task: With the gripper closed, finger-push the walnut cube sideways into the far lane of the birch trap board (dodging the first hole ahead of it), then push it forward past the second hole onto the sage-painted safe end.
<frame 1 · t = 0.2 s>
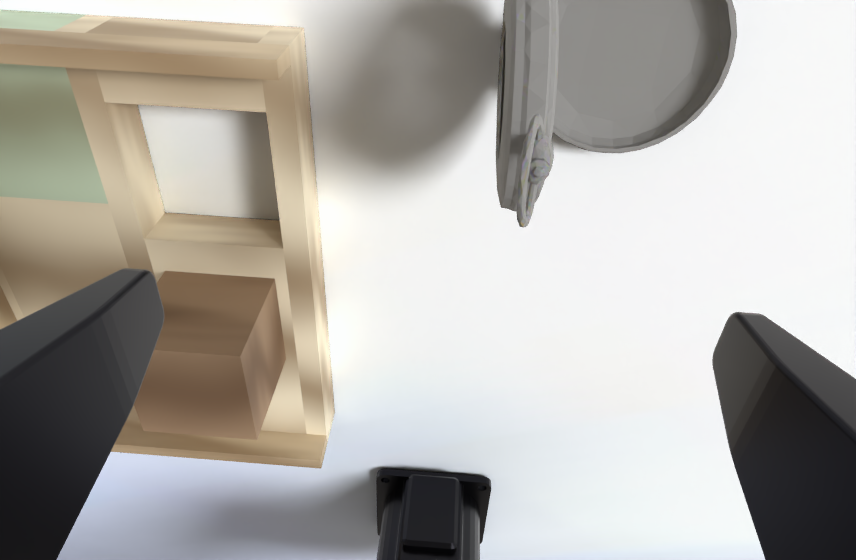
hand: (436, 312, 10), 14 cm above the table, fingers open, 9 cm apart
trap box: (163, 251, 27), on the table
pocket watch: (585, 42, 21), on the table
block: (228, 316, 26), point 2 cm above the table, touching trap box
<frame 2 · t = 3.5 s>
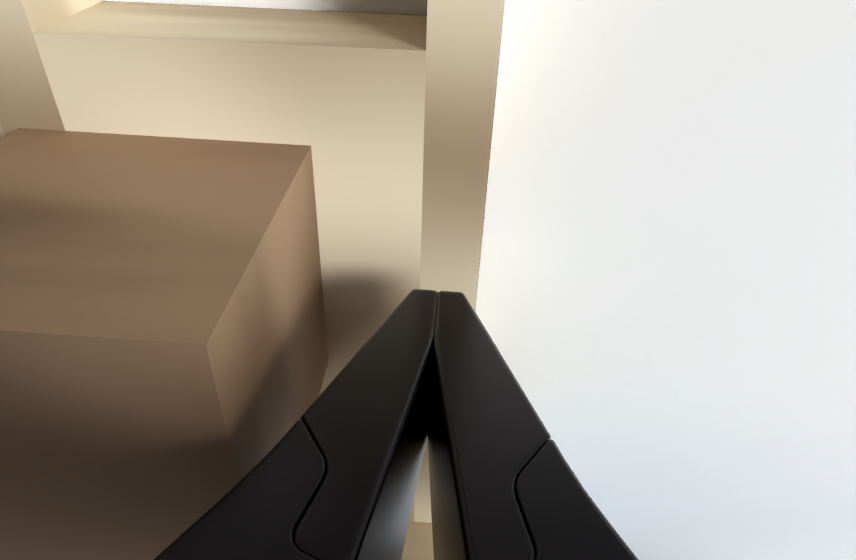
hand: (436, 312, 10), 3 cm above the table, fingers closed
trap box: (106, 116, 11), on the table
block: (192, 259, 11), point 2 cm above the table, touching gripper
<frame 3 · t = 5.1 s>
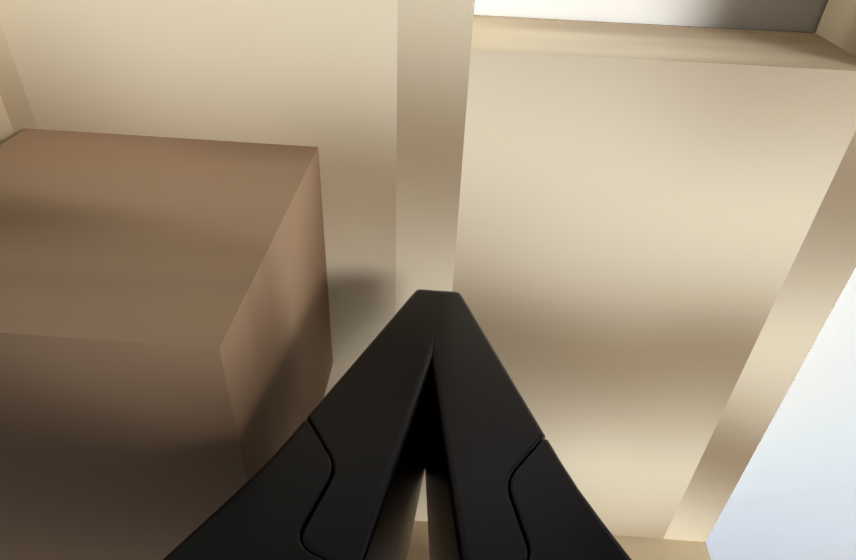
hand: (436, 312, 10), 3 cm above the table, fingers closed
trap box: (434, 130, 11), on the table
block: (197, 259, 11), point 2 cm above the table, touching gripper, trap box
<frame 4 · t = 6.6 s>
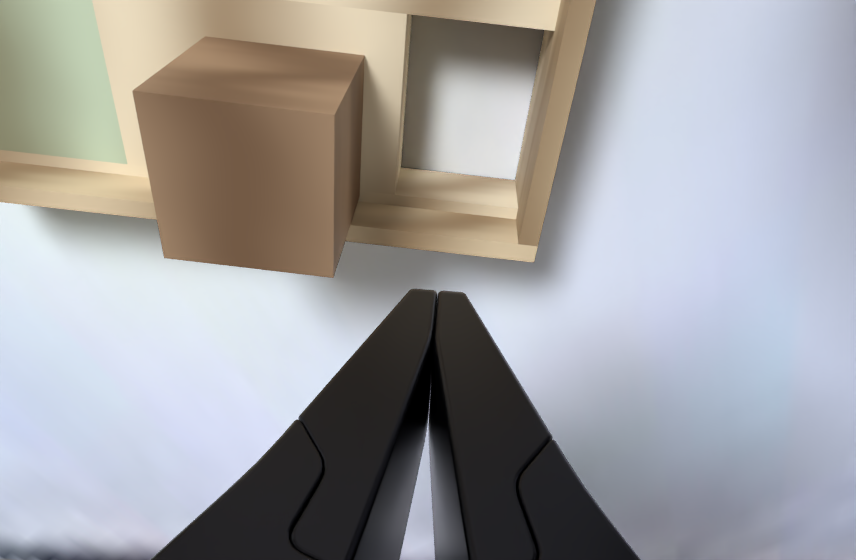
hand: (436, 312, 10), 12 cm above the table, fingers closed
block: (287, 122, 19), point 2 cm above the table, touching trap box
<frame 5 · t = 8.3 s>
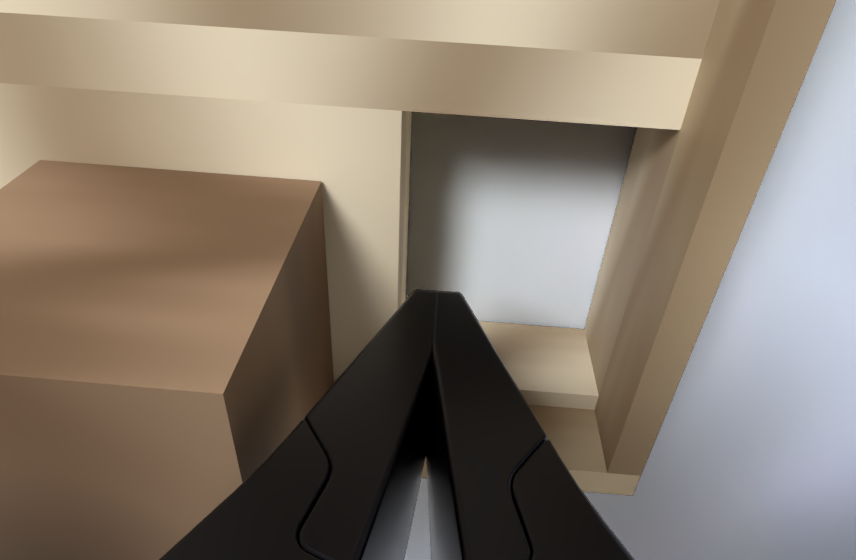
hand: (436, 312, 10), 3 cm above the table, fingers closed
trap box: (108, 17, 10), on the table
block: (203, 284, 11), point 2 cm above the table, touching gripper
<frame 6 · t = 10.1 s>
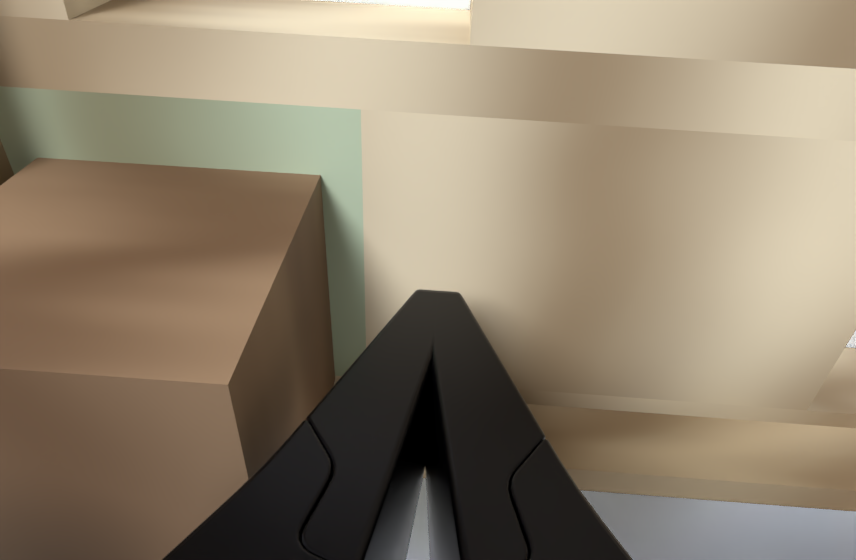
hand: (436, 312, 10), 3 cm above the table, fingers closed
trap box: (588, 49, 10), on the table
block: (203, 281, 11), point 2 cm above the table, touching gripper, trap box
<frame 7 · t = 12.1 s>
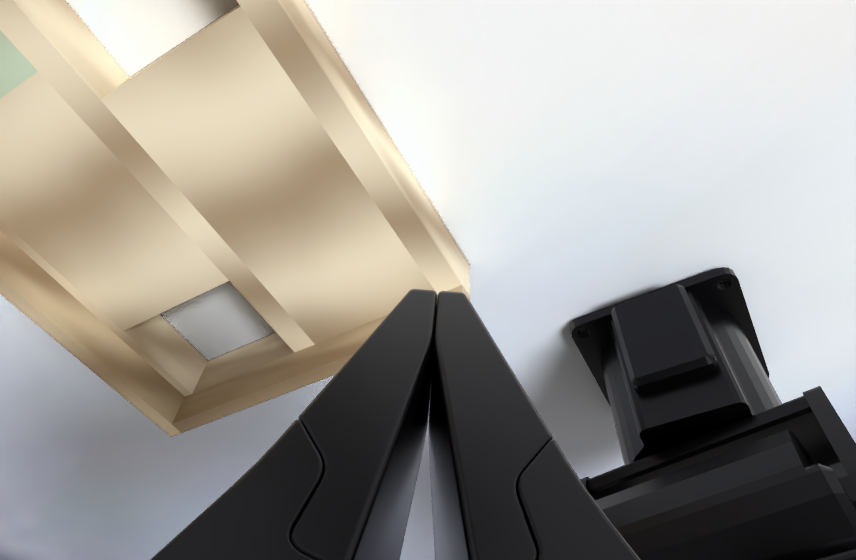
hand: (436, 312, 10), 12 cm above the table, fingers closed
trap box: (161, 134, 21), on the table
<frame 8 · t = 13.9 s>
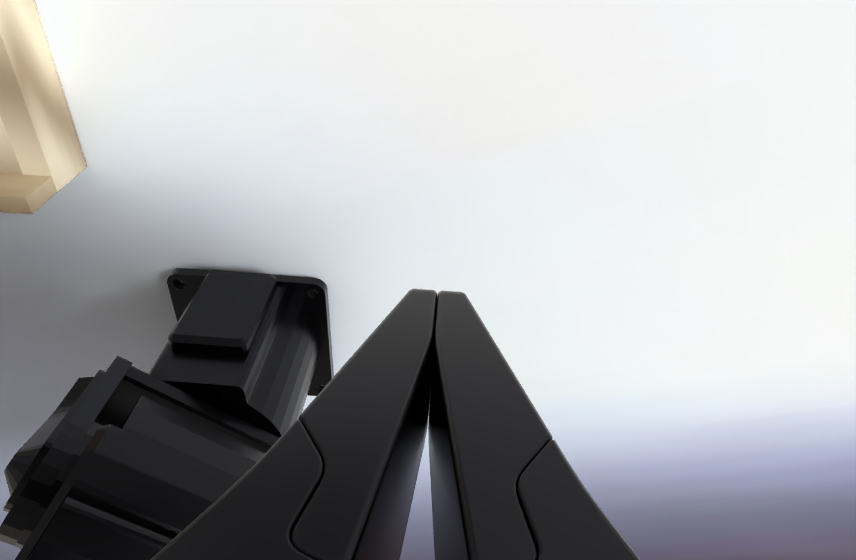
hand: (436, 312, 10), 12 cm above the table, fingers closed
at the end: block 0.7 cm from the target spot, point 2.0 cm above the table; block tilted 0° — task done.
